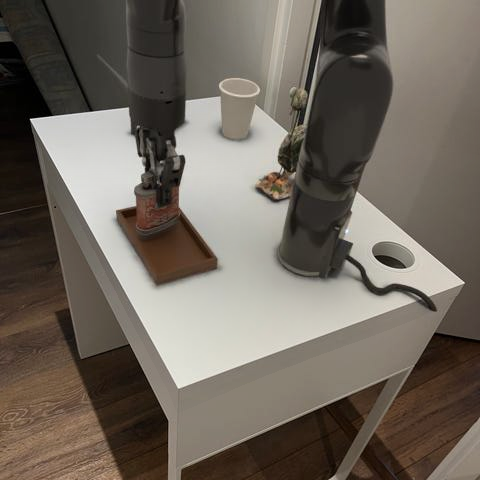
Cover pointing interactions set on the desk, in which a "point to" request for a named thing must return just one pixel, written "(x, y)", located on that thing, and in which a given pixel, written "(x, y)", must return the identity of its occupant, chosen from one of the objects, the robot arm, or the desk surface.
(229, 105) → the dixie cup
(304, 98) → the plant with pod
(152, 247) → the tray
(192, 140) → the desk surface
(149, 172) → the lighter
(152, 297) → the desk surface
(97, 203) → the desk surface
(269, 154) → the desk surface
